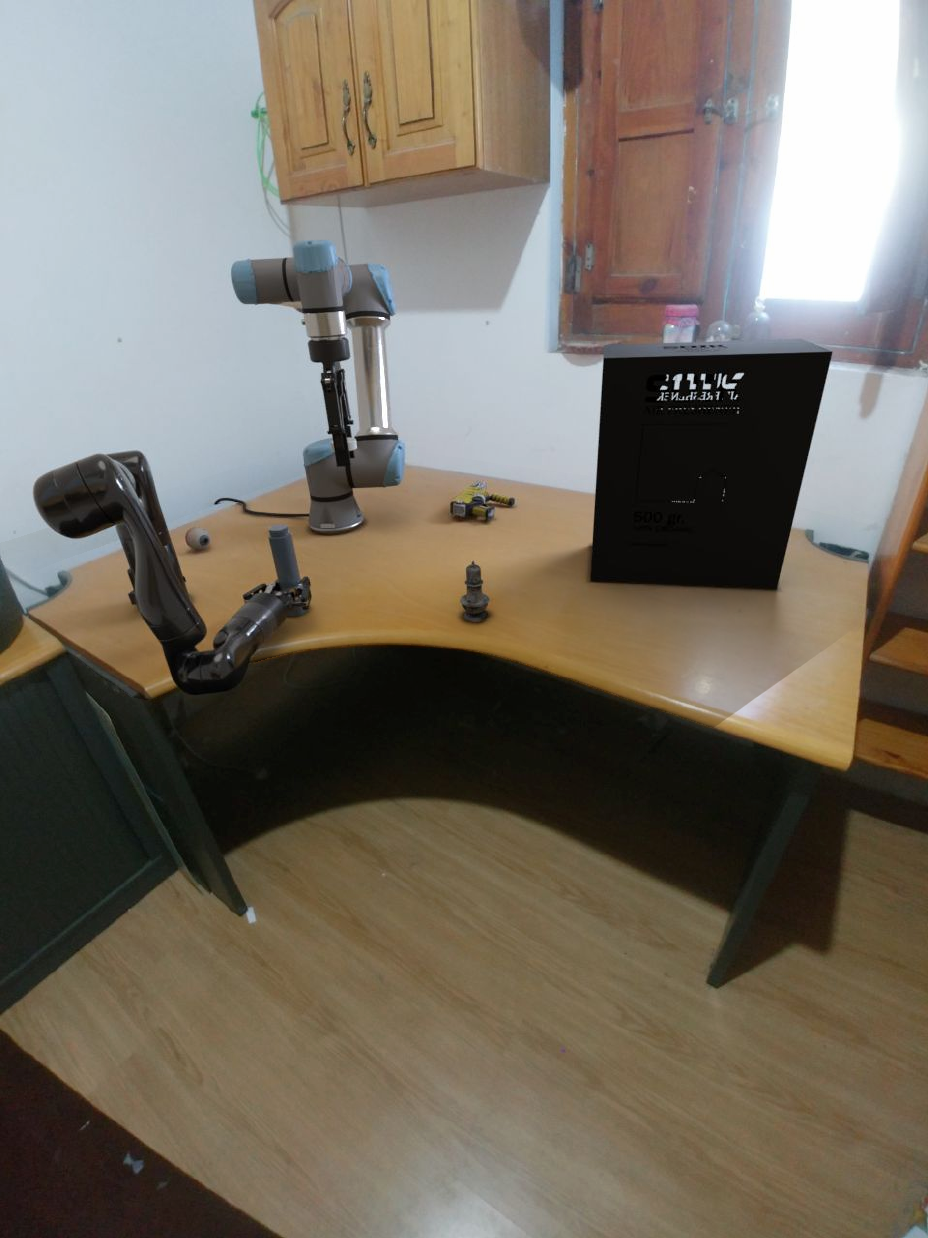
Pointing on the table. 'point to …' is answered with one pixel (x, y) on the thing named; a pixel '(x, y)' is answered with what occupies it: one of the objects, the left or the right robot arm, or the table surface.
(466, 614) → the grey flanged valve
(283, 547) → the bottle
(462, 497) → the toy gun
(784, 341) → the cardboard box
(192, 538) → the eyeball
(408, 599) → the table surface
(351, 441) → the lid
